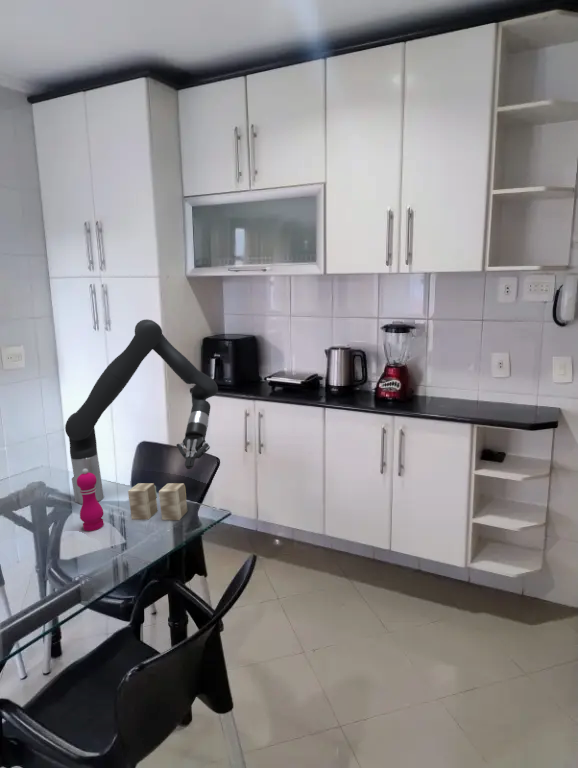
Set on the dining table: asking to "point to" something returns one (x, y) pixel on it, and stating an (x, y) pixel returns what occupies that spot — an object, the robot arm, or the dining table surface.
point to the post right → (173, 501)
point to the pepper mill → (89, 502)
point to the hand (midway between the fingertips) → (188, 468)
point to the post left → (142, 501)
